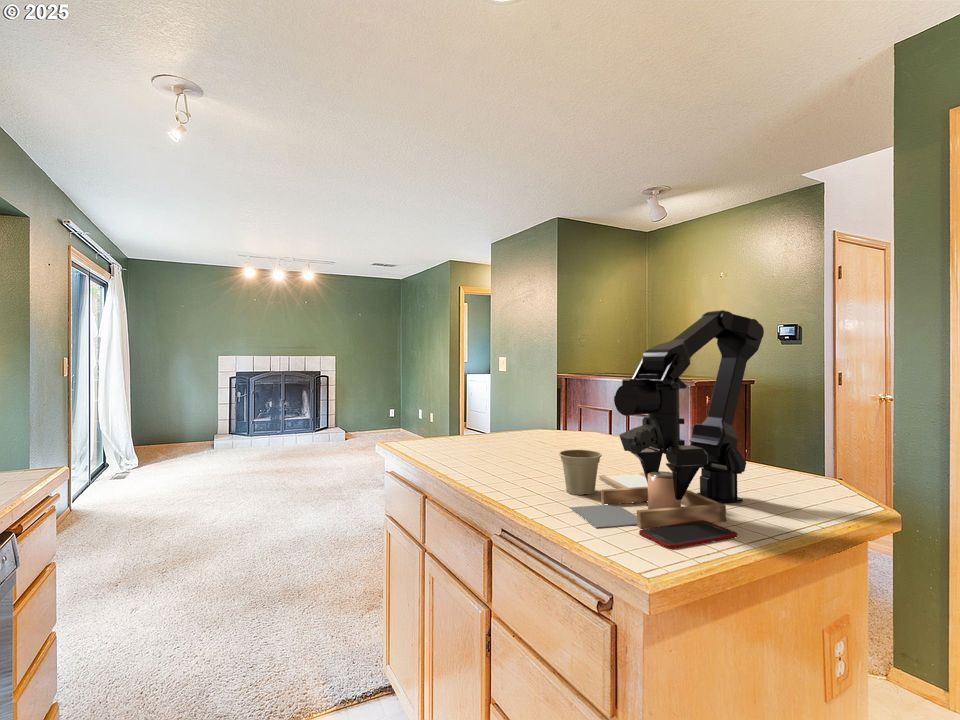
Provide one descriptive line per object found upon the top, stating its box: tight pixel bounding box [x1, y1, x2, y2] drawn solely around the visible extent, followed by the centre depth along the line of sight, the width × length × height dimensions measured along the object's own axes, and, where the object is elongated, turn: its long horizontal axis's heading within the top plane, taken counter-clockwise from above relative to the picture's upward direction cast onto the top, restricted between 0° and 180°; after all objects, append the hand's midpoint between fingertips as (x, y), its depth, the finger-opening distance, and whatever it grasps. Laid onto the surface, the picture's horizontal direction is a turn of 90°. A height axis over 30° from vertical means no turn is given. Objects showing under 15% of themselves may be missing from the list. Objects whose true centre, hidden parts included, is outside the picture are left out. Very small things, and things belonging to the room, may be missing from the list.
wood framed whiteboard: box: [598, 472, 648, 489], centre depth 114 cm, size 17×12×1 cm
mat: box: [569, 504, 637, 529], centre depth 92 cm, size 10×12×1 cm
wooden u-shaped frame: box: [600, 487, 727, 529], centre depth 95 cm, size 17×15×3 cm
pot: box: [647, 470, 682, 509], centre depth 95 cm, size 6×6×7 cm
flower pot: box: [558, 449, 603, 496], centre depth 110 cm, size 9×9×9 cm
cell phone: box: [638, 520, 739, 550], centre depth 82 cm, size 8×15×1 cm, turn 111°
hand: (664, 493), depth 95 cm, fingers open, 9 cm apart
